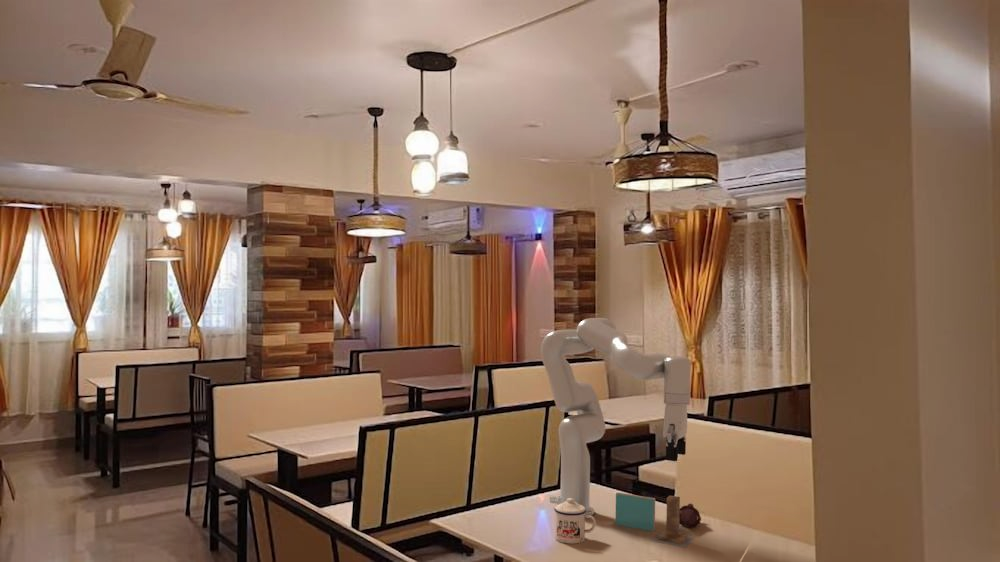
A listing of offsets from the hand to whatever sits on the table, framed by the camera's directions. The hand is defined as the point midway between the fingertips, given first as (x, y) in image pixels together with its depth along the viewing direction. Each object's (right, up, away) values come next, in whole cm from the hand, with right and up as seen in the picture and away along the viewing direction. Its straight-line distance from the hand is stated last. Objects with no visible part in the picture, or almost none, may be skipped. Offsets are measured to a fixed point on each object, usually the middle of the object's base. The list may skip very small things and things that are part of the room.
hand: (675, 457), depth 210 cm
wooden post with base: (-1, -24, -1) cm, 24 cm away
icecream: (+7, -25, +12) cm, 29 cm away
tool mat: (-1, -24, -1) cm, 24 cm away
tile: (-10, -19, +10) cm, 24 cm away
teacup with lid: (-30, -24, -1) cm, 38 cm away
